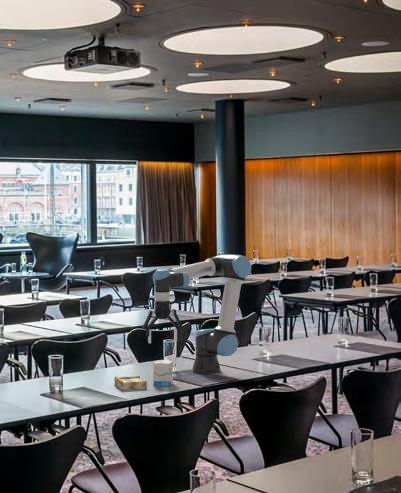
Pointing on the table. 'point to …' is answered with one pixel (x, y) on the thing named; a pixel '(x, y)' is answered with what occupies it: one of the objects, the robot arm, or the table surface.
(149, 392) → the table surface
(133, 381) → the dock
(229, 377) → the table surface
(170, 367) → the ink box
